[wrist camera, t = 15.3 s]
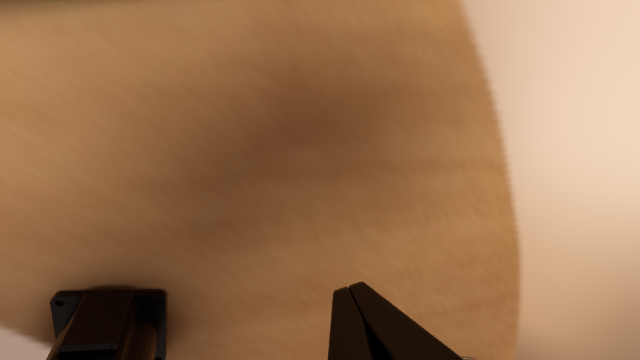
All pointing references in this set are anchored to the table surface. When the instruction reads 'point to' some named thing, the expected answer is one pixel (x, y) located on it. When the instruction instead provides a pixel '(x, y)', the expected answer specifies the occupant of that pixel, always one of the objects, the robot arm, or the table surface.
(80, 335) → the robot arm
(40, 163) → the table surface
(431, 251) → the table surface
